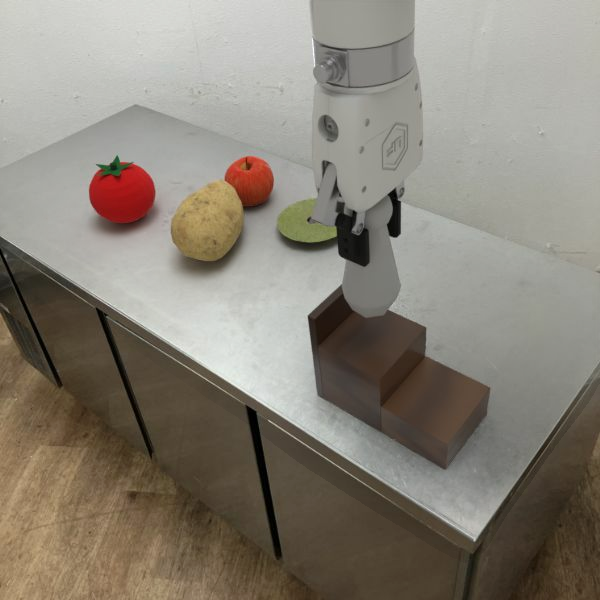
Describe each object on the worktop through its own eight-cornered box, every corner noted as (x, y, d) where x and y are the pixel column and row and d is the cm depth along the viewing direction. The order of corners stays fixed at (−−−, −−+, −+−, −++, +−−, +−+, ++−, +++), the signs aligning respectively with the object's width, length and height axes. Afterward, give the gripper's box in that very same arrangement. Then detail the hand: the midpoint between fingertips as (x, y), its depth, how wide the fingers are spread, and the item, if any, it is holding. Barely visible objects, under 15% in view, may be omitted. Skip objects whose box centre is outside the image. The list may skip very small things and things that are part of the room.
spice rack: (486, 413, 71) (499, 331, 63) (445, 469, 67) (453, 389, 58) (361, 349, 80) (357, 269, 71) (317, 395, 76) (307, 315, 67)
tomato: (152, 191, 112) (136, 139, 105) (169, 221, 105) (154, 168, 98) (93, 211, 109) (73, 159, 102) (106, 243, 102) (86, 189, 95)
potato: (160, 262, 97) (144, 209, 91) (224, 212, 105) (213, 161, 99) (209, 284, 92) (195, 231, 86) (272, 231, 100) (264, 178, 94)
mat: (363, 216, 100) (363, 206, 99) (331, 259, 94) (330, 248, 92) (300, 202, 105) (299, 191, 104) (265, 241, 98) (263, 231, 97)
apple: (276, 184, 110) (270, 141, 104) (276, 211, 104) (270, 168, 98) (230, 188, 110) (221, 146, 105) (227, 216, 104) (218, 173, 99)
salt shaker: (410, 295, 66) (412, 188, 58) (384, 331, 63) (382, 222, 54) (359, 279, 69) (354, 173, 60) (332, 312, 66) (323, 206, 57)
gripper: (335, 112, 42) (348, 313, 55) (464, 23, 51) (451, 213, 63) (251, 88, 46) (281, 281, 58) (385, 9, 55) (387, 191, 67)
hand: (369, 244), depth 61 cm, fingers closed on salt shaker, 4 cm apart
